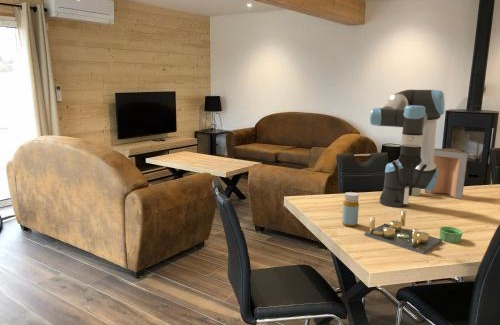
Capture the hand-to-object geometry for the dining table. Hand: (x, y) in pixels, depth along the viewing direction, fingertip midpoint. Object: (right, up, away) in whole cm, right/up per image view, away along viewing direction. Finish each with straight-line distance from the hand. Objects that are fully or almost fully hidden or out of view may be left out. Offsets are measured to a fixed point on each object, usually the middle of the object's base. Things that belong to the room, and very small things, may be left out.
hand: (405, 203), depth 158 cm
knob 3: (+6, -17, +3) cm, 18 cm away
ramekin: (+23, -17, +11) cm, 31 cm away
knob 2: (+4, -13, +20) cm, 24 cm away
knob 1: (-6, -15, +11) cm, 19 cm away
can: (+37, -3, +82) cm, 90 cm away
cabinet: (+57, -4, +82) cm, 100 cm away
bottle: (-16, -13, +27) cm, 34 cm away
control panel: (+3, -16, +10) cm, 20 cm away
